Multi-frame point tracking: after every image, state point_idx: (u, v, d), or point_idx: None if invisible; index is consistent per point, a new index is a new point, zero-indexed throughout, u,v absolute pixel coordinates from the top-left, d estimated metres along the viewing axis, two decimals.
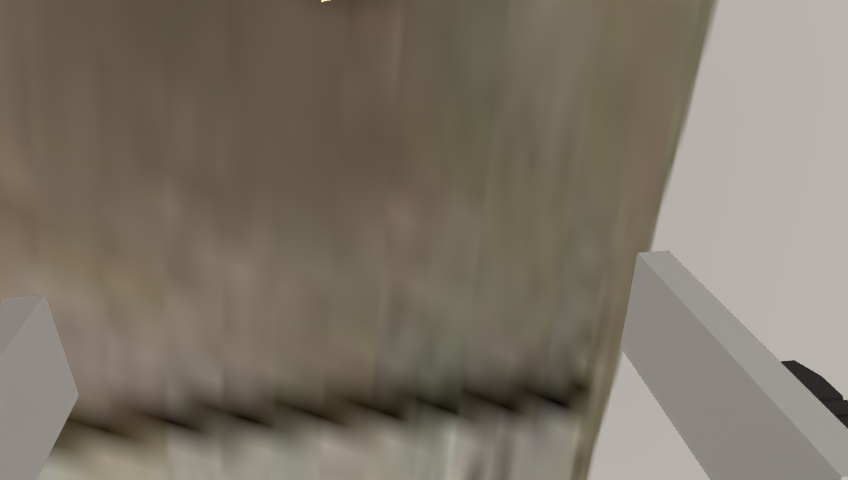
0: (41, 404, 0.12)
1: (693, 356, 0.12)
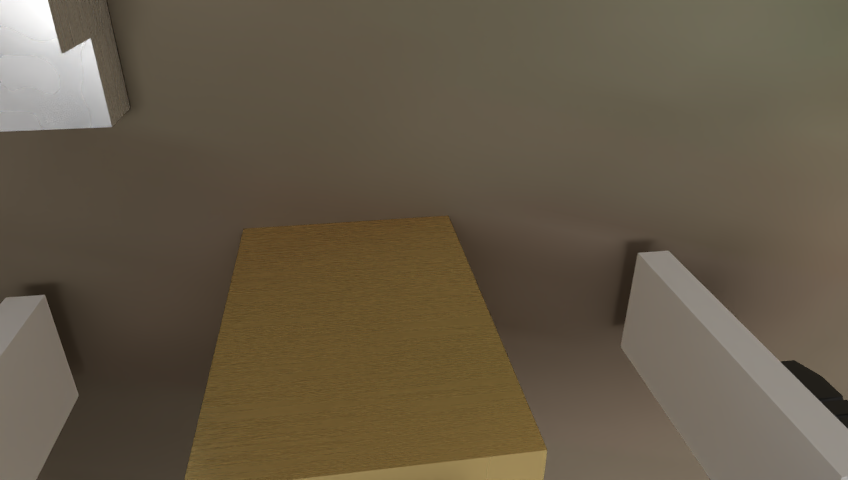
0: (41, 404, 0.12)
1: (692, 356, 0.12)
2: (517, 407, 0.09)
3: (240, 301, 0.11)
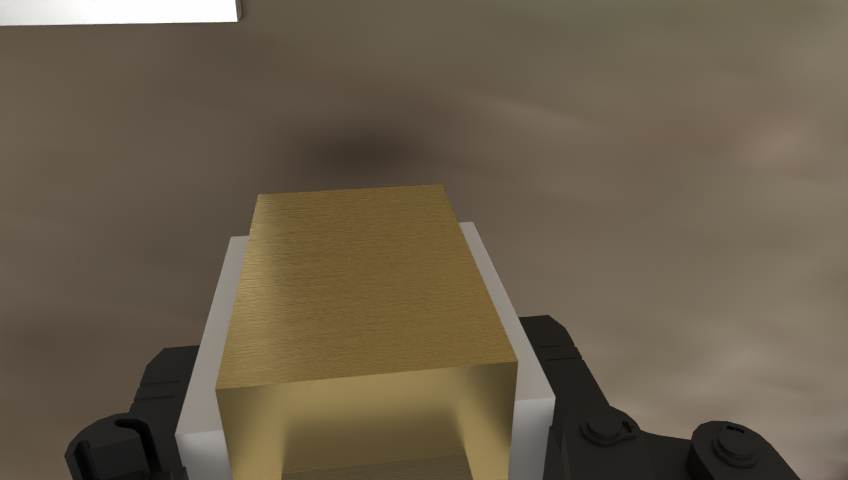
0: None
1: None
2: (495, 330, 0.10)
3: (257, 251, 0.13)
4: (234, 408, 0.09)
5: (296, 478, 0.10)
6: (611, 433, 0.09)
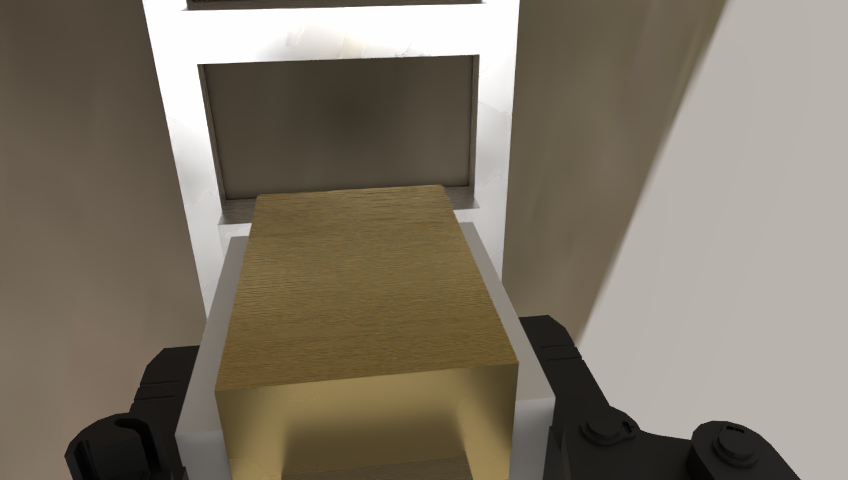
0: None
1: None
2: (495, 332, 0.10)
3: (257, 252, 0.13)
4: (233, 410, 0.09)
5: None
6: (611, 433, 0.09)
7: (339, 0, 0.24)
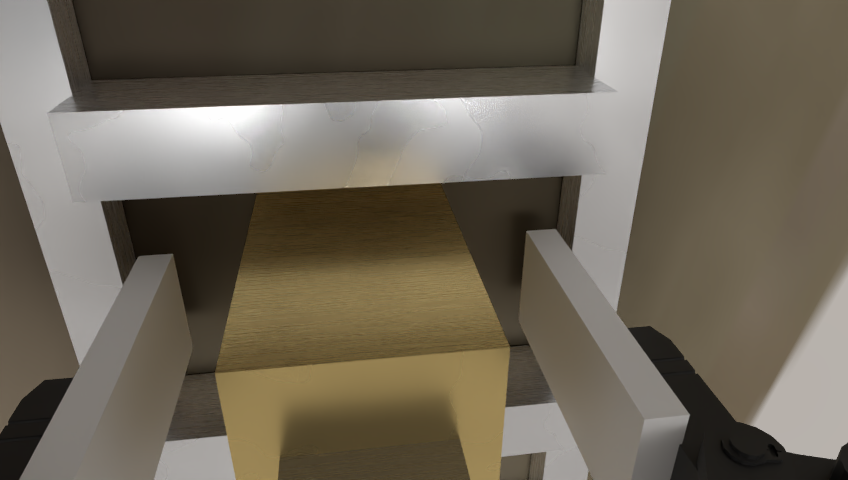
0: (173, 350, 0.14)
1: (560, 323, 0.13)
2: (488, 318, 0.10)
3: (257, 243, 0.13)
4: (233, 392, 0.09)
5: (294, 462, 0.10)
6: (755, 454, 0.09)
7: (348, 78, 0.14)
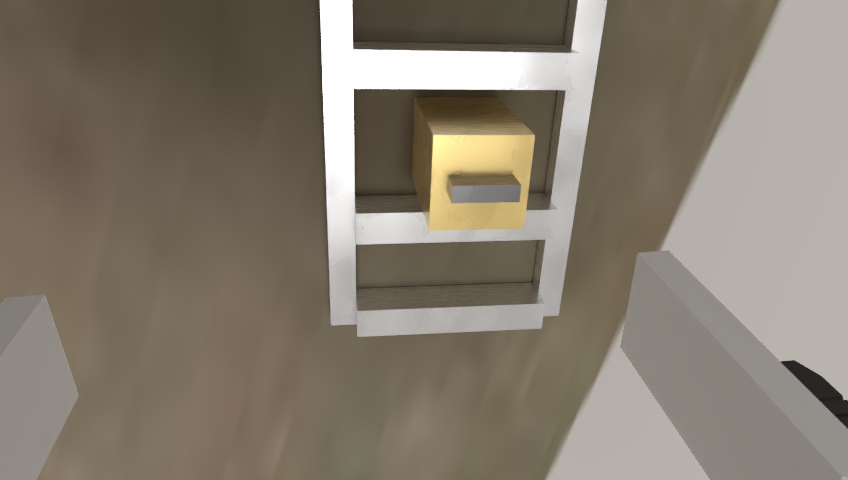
0: (41, 404, 0.12)
1: (692, 356, 0.12)
2: (526, 130, 0.28)
3: (426, 111, 0.30)
4: (437, 144, 0.27)
5: (453, 178, 0.28)
6: None
7: (463, 44, 0.31)
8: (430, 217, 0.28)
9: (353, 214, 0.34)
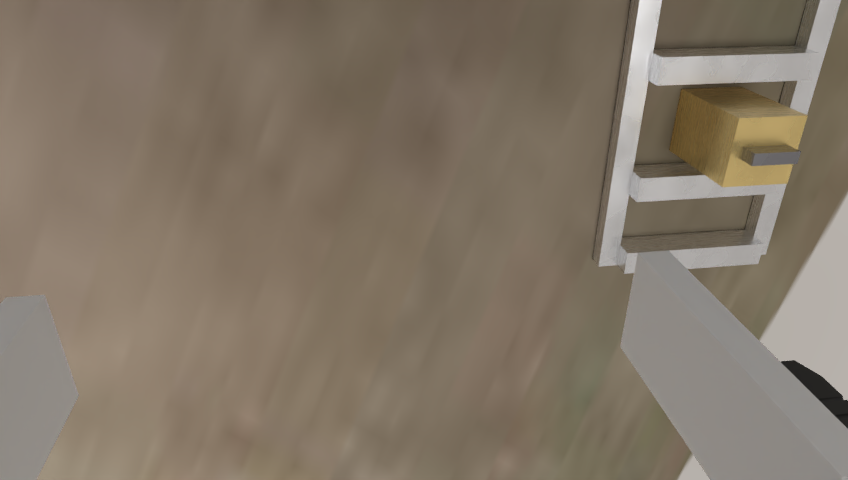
0: (41, 404, 0.12)
1: (693, 356, 0.12)
2: (796, 111, 0.39)
3: (706, 99, 0.41)
4: (741, 124, 0.38)
5: (746, 149, 0.39)
6: None
7: (726, 49, 0.42)
8: (725, 177, 0.39)
9: (630, 179, 0.45)
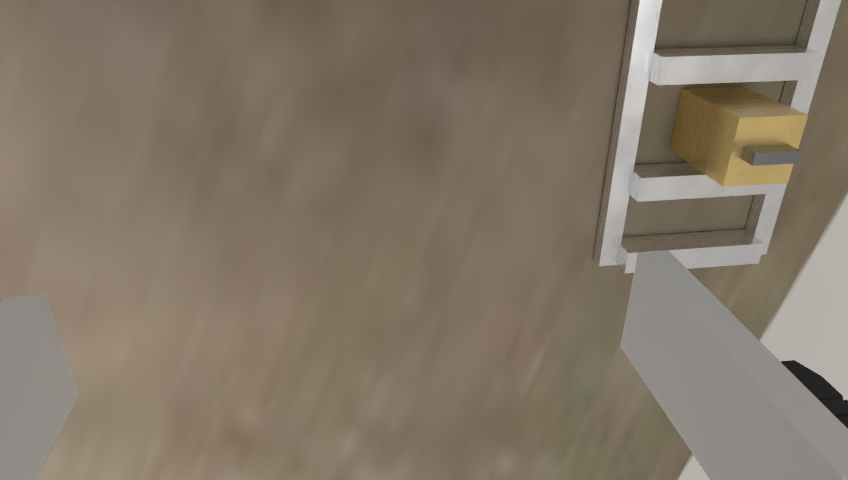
0: (41, 404, 0.12)
1: (693, 356, 0.12)
2: (796, 111, 0.39)
3: (707, 99, 0.41)
4: (741, 124, 0.38)
5: (746, 148, 0.39)
6: None
7: (726, 48, 0.42)
8: (725, 177, 0.39)
9: (630, 179, 0.45)
